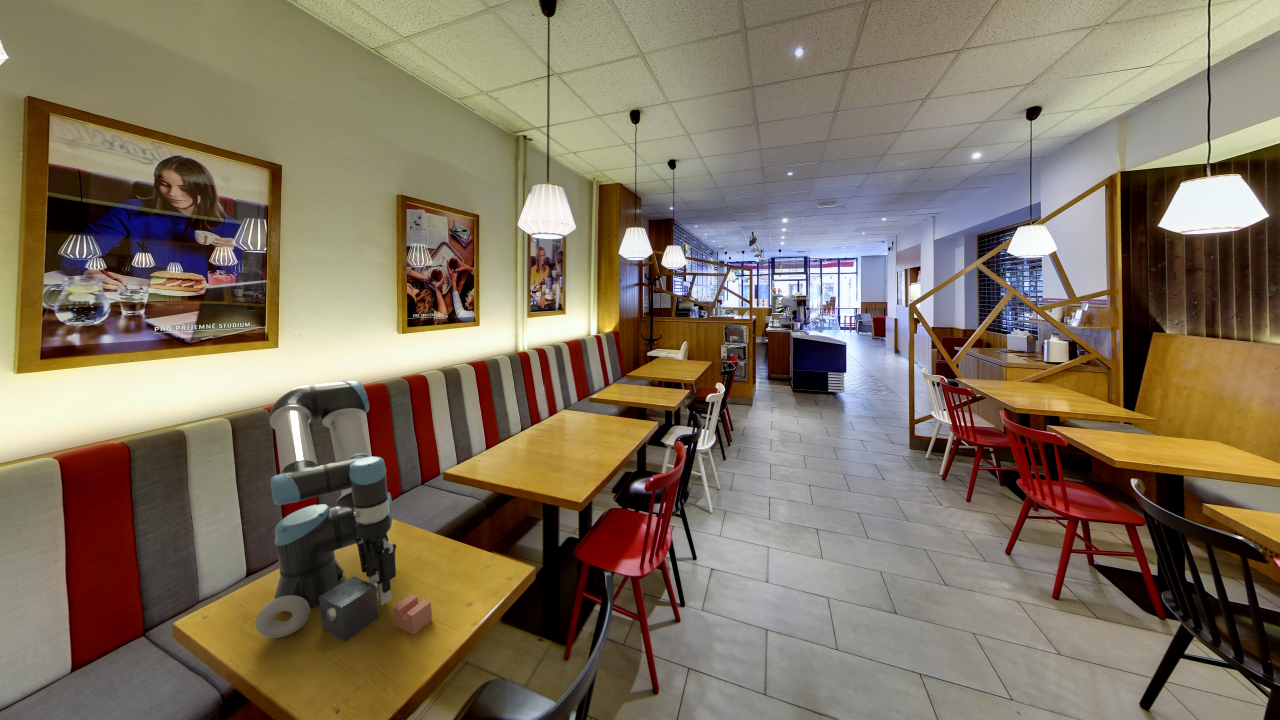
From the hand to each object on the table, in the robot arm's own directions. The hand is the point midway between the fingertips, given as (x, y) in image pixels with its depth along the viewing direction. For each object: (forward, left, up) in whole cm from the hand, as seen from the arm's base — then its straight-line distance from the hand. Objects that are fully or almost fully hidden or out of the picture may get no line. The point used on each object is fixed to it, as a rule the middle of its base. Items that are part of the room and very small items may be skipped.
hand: (381, 599), depth 107 cm
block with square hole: (0, -8, -1) cm, 8 cm away
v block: (+14, -1, -1) cm, 14 cm away
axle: (0, -5, +4) cm, 7 cm away
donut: (-11, -16, -1) cm, 20 cm away
